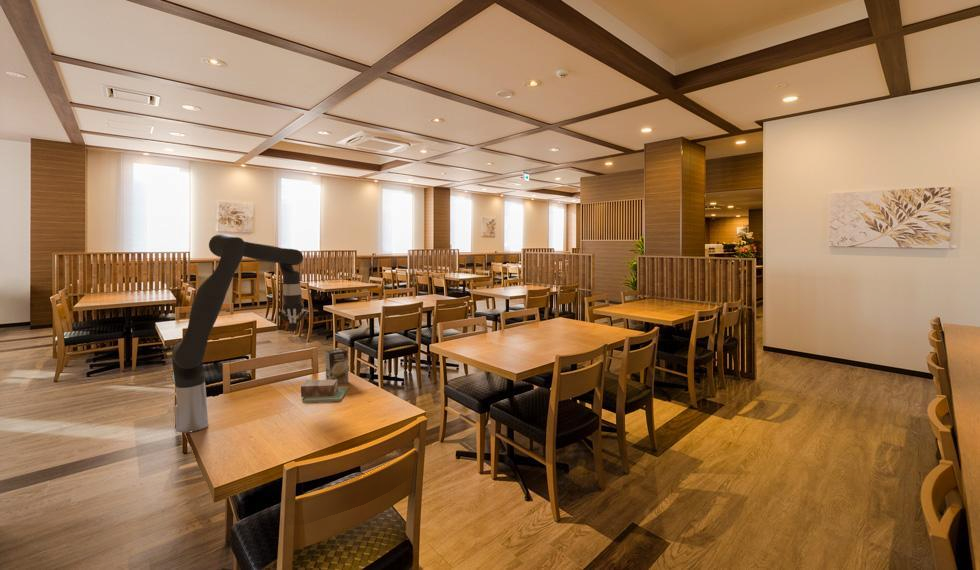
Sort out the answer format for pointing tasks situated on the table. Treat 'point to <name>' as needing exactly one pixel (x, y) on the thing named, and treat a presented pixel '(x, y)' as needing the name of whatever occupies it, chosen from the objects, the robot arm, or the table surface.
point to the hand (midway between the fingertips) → (294, 330)
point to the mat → (336, 397)
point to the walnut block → (319, 388)
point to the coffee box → (337, 365)
